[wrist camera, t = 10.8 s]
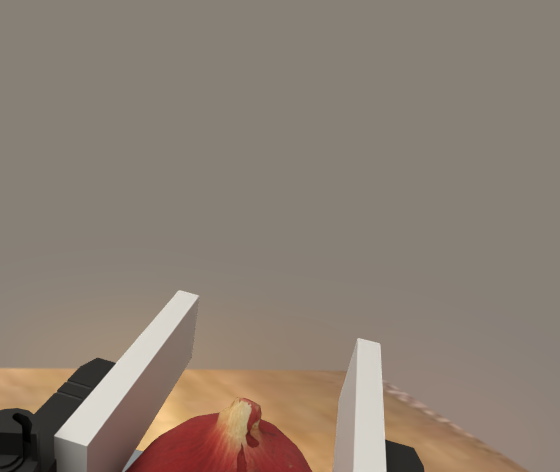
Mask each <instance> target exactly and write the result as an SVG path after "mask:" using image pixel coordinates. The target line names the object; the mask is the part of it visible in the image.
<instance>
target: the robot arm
mask: <svg viewBox="0 0 560 472" xmlns="http://www.w3.org/2000/svg"><path fill="white" fill-rule="evenodd" d="M198 303H199V295H195V294H191V293H187V292H184V291H180V290H179V291H178V292H177V293H176V294H175V296H174V297H173V298H172V299H171V300H170V301H169V303H168V304H167V305H166V306H165V307H164V308H163V310H162V311H161V312H160V313H159V314H158V315H157V316H156V318H155V319H154V320H153V321H152V322H151V324H150V325H149V326H148V327H147V328H146V329H145V331H144V332H143V333H142V334H141V335H140V336H139V337H138V339H137V340H136V341H135V342H134V343H133V345H132V346H131V347H130V348H129V349H128V350H127V351H126V353H125V354H124V355H123V356H122V357H121V359H120V360H119V361H118V362H117V363H114V362H111V361H107V360H104V359H100V358H96V359H94V360H92V361H90V362H88V363H87V364H85V365H83V366H81V367H80V368H79V369H78V370H77V371H76V372H75V373H74V374H73V375H72V376H71V377H70V378H69V379H68V381H67V382H65V383H64V384H63V385H62V386H61V387H60V388H59V389H58V390H57V393H54V394H53V395H52V396H51V397H50V398H49V400H48V401H47V402H46V403H45V404H44V405H43V406H42V407H41V408H40V409H39V410H38V411H37V412H36V413H35V414H32V413H31V412H30V411H28V410H23V409H19V408H13V409H3V410H0V472H122V471H123V469H124V467H125V466H126V464H127V462H128V461H129V459H130V458H131V456H132V454H133V453H134V451H135V449H136V448H137V446H138V444H139V443H140V441H141V440H142V438H143V436H144V435H145V433H146V431H147V430H148V428H149V427H150V425H151V423H152V422H153V420H154V418H155V417H156V415H157V413H158V412H159V410H160V409H161V407H162V405H163V404H164V402H165V400H166V399H167V397H168V395H169V394H170V392H171V391H172V389H173V387H174V386H175V384H176V382H177V381H178V379H179V377H180V376H181V374H182V373H183V371H184V369H185V368H186V366H187V364H188V363H189V361H190V359H191V358H192V350H193V342H194V334H195V326H196V318H197V311H198ZM333 472H424V466H423V464H422V462H421V461H420V459H419V457H418V455H417V453H416V451H415V450H414V448H412V447H409V446H405V445H402V444H398V443H395V442H391V441H388V440H385V430H384V410H383V389H382V370H381V350H380V344H379V343H375V342H372V341H368V340H364V339H360V338H358V339H357V342H356V346H355V349H354V352H353V356H352V359H351V362H350V365H349V368H348V372H347V375H346V378H345V381H344V385H343V388H342V391H341V394H340V398H339V405H338V416H337V428H336V440H335V451H334V463H333Z"/></svg>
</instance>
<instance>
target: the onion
mask: <svg viewBox="0 0 560 472" xmlns="http://www.w3.org/2000/svg"><path fill="white" fill-rule="evenodd" d="M125 472H312V470H311V469H310V467H309V465H308V463H307V461H306V460H305V458H304V456H303V454H302V453H301V451H300V450H299V449H298V447H297V446H296V445H295V444H294V443H293V442H292V441H291V440H290V439H289V438H288V437H286V436H285V435H284V434H283V433H282V432H281V431H280V430H279V429H278V428H277V427H276V426H275V425H273V424H271V423H269V422H267V421H264V420H262V419H261V408H260V405H258V404H256V403H254V402H253V401H251V400H248V399H246V398H238V397H237V398H236V400H235V401H234V402H233V403H232V404H231V405H230V406H229V407H228V408H226V409H225V410H223V411H222V412H220V413H214V414H208V415H202V416H197V417H194V418H191V419H189V420H187V421H186V422H184V423H182V424H180V425H178V426H177V427H175V428H173V429H171V430H169V431H168V432H166V433H164V434H162V435H161V436H159V437H158V438H157V439H156V440H154V441H153V442H152V443H151V444H150V445H149V446H148V447H147V448H146V449H145V450H144V451H143V453H142V454H141V455H140V456H139V457H138V458H137V459H136V460H135V461H134V462H133V463H132V464H131V465H130V467H129V468H128V469H127V470H126V471H125Z"/></svg>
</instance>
